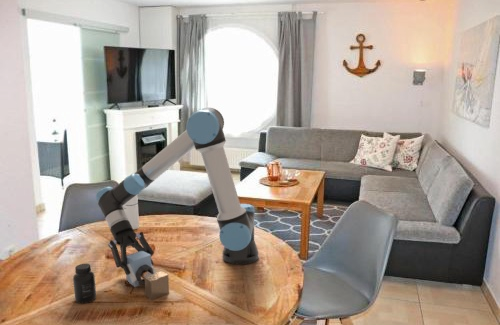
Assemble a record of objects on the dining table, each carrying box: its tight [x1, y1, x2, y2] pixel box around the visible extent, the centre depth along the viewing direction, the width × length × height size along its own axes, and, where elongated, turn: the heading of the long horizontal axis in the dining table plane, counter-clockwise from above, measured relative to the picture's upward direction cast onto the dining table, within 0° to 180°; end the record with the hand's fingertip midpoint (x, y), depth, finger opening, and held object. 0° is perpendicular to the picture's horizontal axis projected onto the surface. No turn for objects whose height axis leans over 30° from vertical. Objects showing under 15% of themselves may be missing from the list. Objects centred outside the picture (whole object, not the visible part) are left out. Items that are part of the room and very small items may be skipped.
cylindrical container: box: [121, 178, 140, 230], centre depth 211 cm, size 7×7×25 cm
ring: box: [135, 264, 154, 285], centre depth 151 cm, size 2×6×6 cm, turn 135°
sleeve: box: [125, 251, 152, 288], centre depth 154 cm, size 6×7×10 cm
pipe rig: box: [141, 270, 170, 301], centre depth 153 cm, size 25×7×7 cm, turn 45°
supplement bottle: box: [72, 263, 97, 304], centre depth 143 cm, size 7×7×12 cm
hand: (144, 277), depth 152 cm, fingers closed on sleeve, 7 cm apart
